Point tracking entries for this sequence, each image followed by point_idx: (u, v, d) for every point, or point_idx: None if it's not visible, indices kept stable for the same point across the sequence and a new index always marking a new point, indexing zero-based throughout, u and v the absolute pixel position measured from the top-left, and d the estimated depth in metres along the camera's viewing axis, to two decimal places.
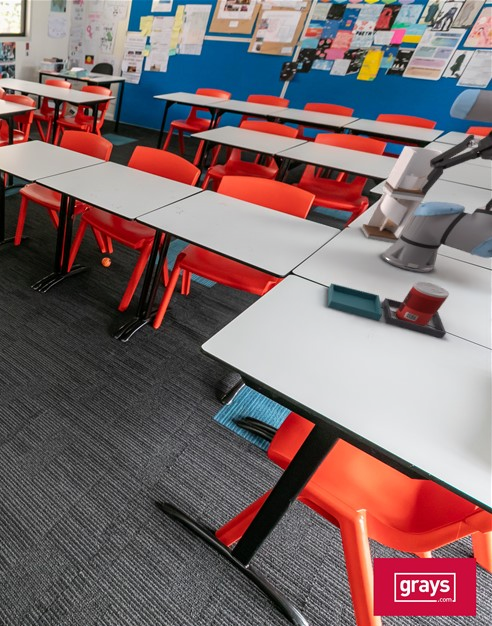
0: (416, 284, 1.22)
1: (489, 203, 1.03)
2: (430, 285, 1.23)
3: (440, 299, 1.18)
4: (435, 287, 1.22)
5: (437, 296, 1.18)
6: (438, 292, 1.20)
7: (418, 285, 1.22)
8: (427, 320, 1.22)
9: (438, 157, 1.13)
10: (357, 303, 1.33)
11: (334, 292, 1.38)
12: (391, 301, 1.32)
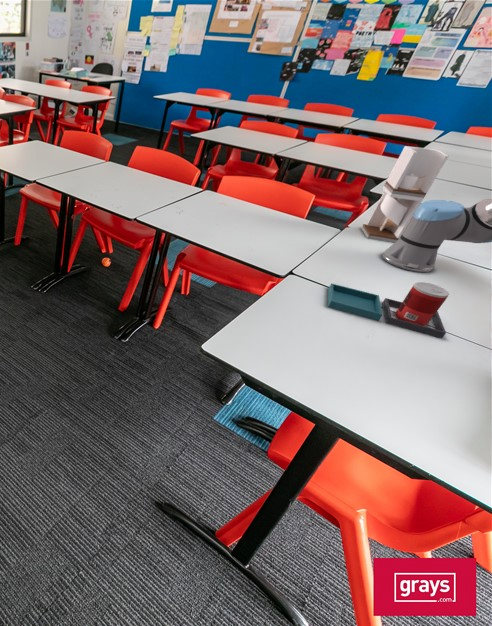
0: (416, 284, 1.22)
1: None
2: (430, 285, 1.23)
3: (440, 299, 1.18)
4: (435, 287, 1.22)
5: (437, 296, 1.18)
6: (438, 292, 1.20)
7: (418, 285, 1.22)
8: (427, 320, 1.22)
9: None
10: (357, 303, 1.33)
11: (334, 292, 1.38)
12: (391, 301, 1.32)
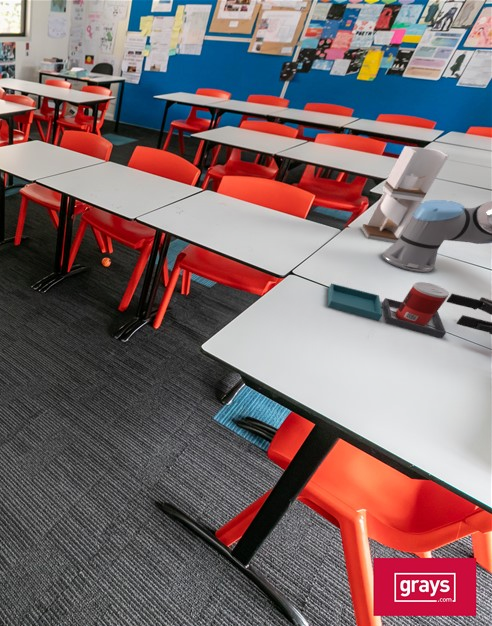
0: (416, 284, 1.22)
1: None
2: (430, 285, 1.23)
3: (440, 299, 1.18)
4: (435, 287, 1.22)
5: (437, 296, 1.18)
6: (438, 292, 1.19)
7: (418, 285, 1.22)
8: (427, 320, 1.22)
9: None
10: (357, 303, 1.33)
11: (334, 292, 1.38)
12: (391, 301, 1.32)
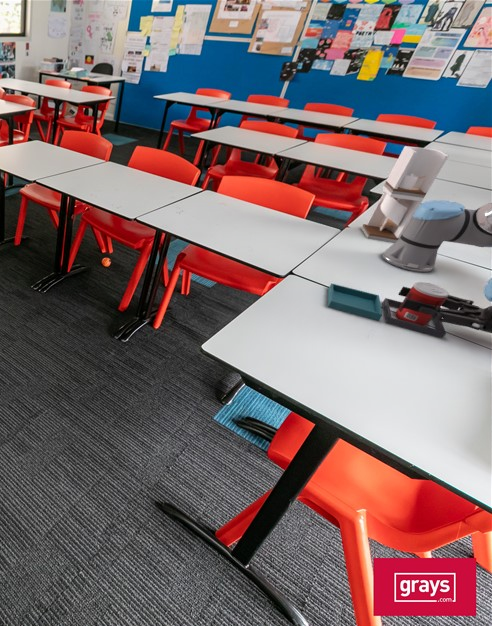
0: (416, 284, 1.22)
1: None
2: (430, 285, 1.23)
3: (440, 299, 1.18)
4: (435, 287, 1.22)
5: (437, 296, 1.18)
6: (438, 292, 1.20)
7: (418, 285, 1.22)
8: (427, 320, 1.22)
9: None
10: (357, 303, 1.33)
11: (334, 292, 1.38)
12: (391, 301, 1.32)
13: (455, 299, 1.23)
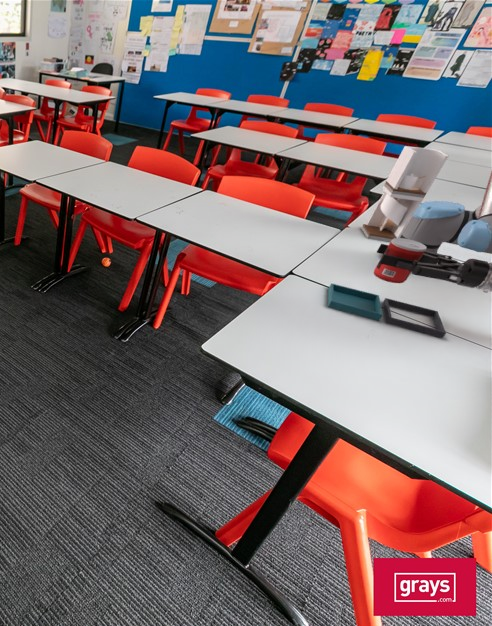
0: (394, 239, 1.20)
1: None
2: (408, 240, 1.20)
3: (417, 253, 1.16)
4: (413, 242, 1.19)
5: (414, 250, 1.15)
6: (416, 246, 1.17)
7: (396, 240, 1.20)
8: (405, 276, 1.20)
9: None
10: (357, 303, 1.33)
11: (334, 292, 1.38)
12: (391, 301, 1.32)
13: (433, 255, 1.21)
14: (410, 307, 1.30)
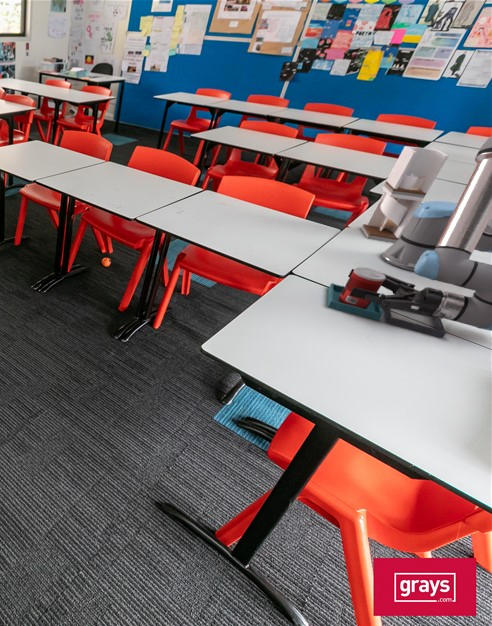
0: (356, 269, 1.28)
1: None
2: (369, 270, 1.29)
3: (377, 283, 1.24)
4: (374, 272, 1.28)
5: (373, 280, 1.24)
6: (376, 276, 1.26)
7: (358, 270, 1.28)
8: (366, 303, 1.28)
9: None
10: None
11: (334, 292, 1.38)
12: None
13: (397, 281, 1.29)
14: None
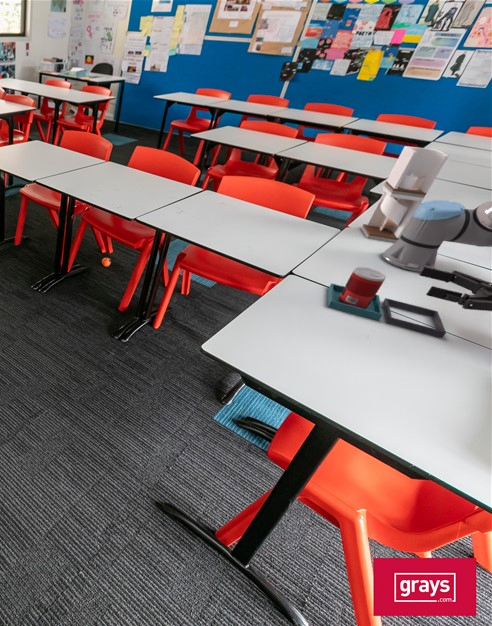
0: (356, 269, 1.28)
1: None
2: (369, 270, 1.29)
3: (377, 283, 1.24)
4: (374, 272, 1.28)
5: (373, 280, 1.24)
6: (376, 276, 1.26)
7: (358, 270, 1.28)
8: (366, 303, 1.28)
9: None
10: None
11: (334, 292, 1.38)
12: (391, 301, 1.32)
13: (476, 280, 1.20)
14: (410, 307, 1.30)
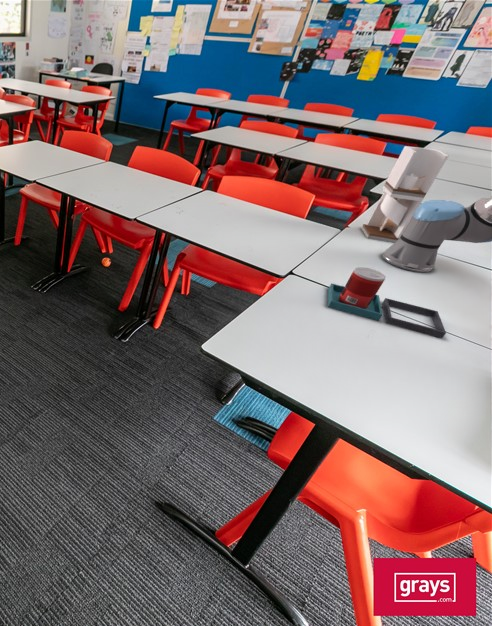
0: (356, 269, 1.28)
1: None
2: (369, 270, 1.29)
3: (377, 283, 1.24)
4: (374, 272, 1.28)
5: (373, 280, 1.24)
6: (376, 276, 1.26)
7: (358, 270, 1.28)
8: (366, 303, 1.28)
9: None
10: None
11: (334, 292, 1.38)
12: (391, 301, 1.32)
13: None
14: (410, 307, 1.30)
